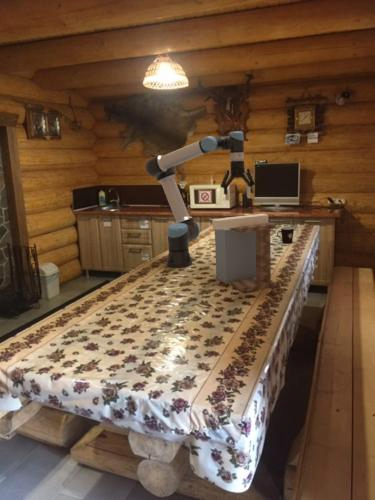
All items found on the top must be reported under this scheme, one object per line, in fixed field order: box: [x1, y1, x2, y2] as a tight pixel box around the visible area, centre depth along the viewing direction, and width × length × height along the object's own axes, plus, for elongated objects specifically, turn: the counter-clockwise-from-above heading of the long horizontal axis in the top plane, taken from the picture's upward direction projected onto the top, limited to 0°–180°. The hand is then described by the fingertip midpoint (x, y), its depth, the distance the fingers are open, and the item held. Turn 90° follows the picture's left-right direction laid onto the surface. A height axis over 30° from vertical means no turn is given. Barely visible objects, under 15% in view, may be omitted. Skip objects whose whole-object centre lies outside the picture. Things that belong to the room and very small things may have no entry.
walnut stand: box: [229, 221, 277, 293], centre depth 199 cm, size 18×12×30 cm, turn 110°
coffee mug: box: [276, 226, 295, 245], centre depth 286 cm, size 12×9×10 cm
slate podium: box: [214, 228, 256, 285], centre depth 212 cm, size 17×12×27 cm
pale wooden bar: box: [211, 213, 269, 230], centre depth 193 cm, size 26×5×4 cm, turn 110°
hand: (238, 199), depth 237 cm, fingers open, 13 cm apart
